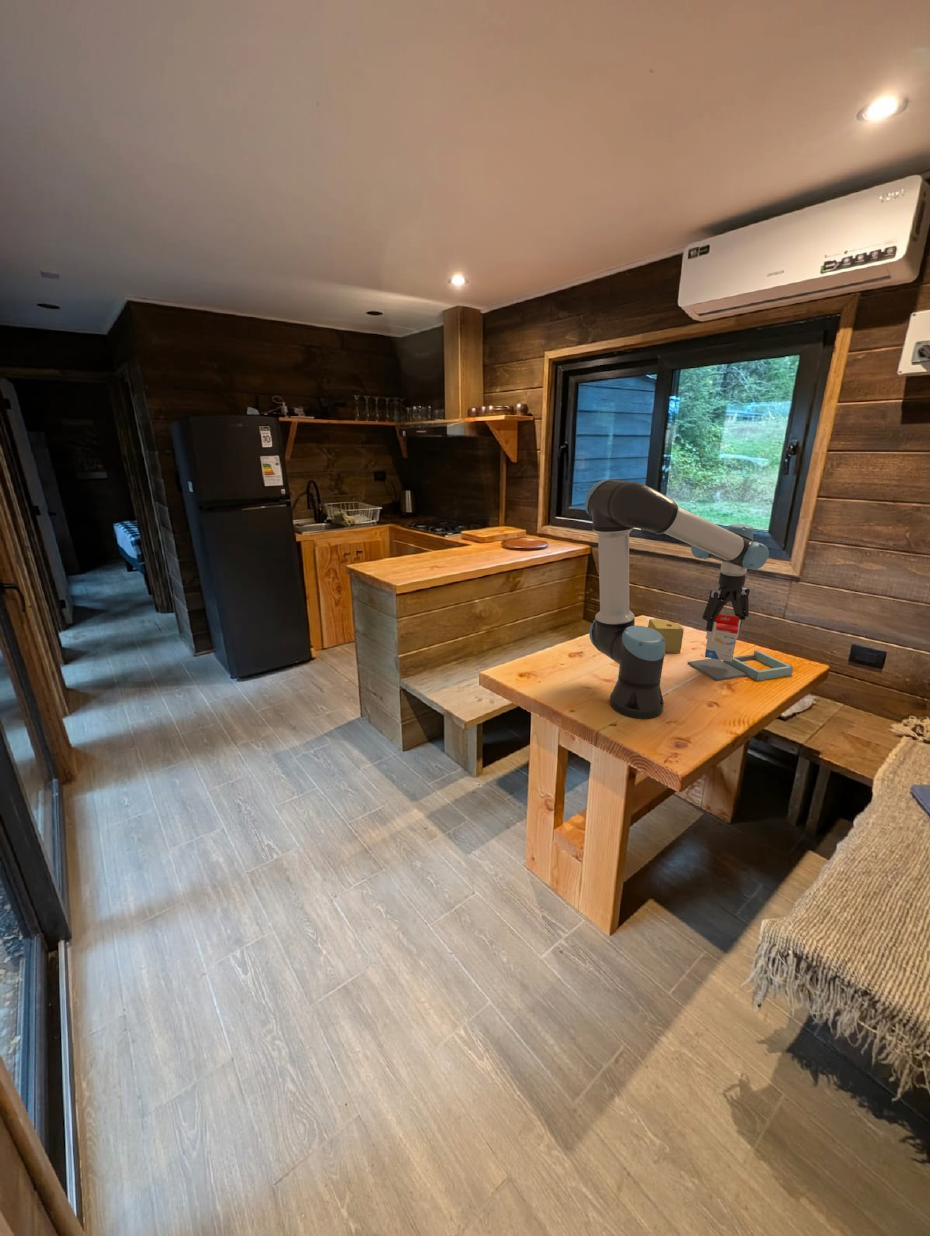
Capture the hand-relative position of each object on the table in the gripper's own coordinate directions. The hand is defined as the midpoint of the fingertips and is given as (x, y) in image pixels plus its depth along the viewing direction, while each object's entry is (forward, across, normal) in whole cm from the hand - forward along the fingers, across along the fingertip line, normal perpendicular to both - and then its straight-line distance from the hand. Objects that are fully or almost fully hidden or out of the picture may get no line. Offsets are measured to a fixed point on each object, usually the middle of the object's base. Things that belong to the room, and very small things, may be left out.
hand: (721, 638), depth 169 cm
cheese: (+12, -5, +22) cm, 26 cm away
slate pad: (+12, 0, 0) cm, 12 cm away
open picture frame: (+12, +14, -3) cm, 18 cm away
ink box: (+7, 0, 0) cm, 7 cm away
